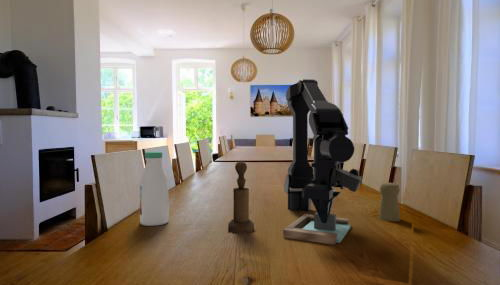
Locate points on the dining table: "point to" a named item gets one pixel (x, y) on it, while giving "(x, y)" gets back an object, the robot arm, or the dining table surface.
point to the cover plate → (338, 230)
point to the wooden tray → (311, 231)
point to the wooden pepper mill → (241, 204)
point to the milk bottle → (153, 191)
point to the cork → (389, 202)
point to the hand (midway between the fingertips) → (325, 221)
